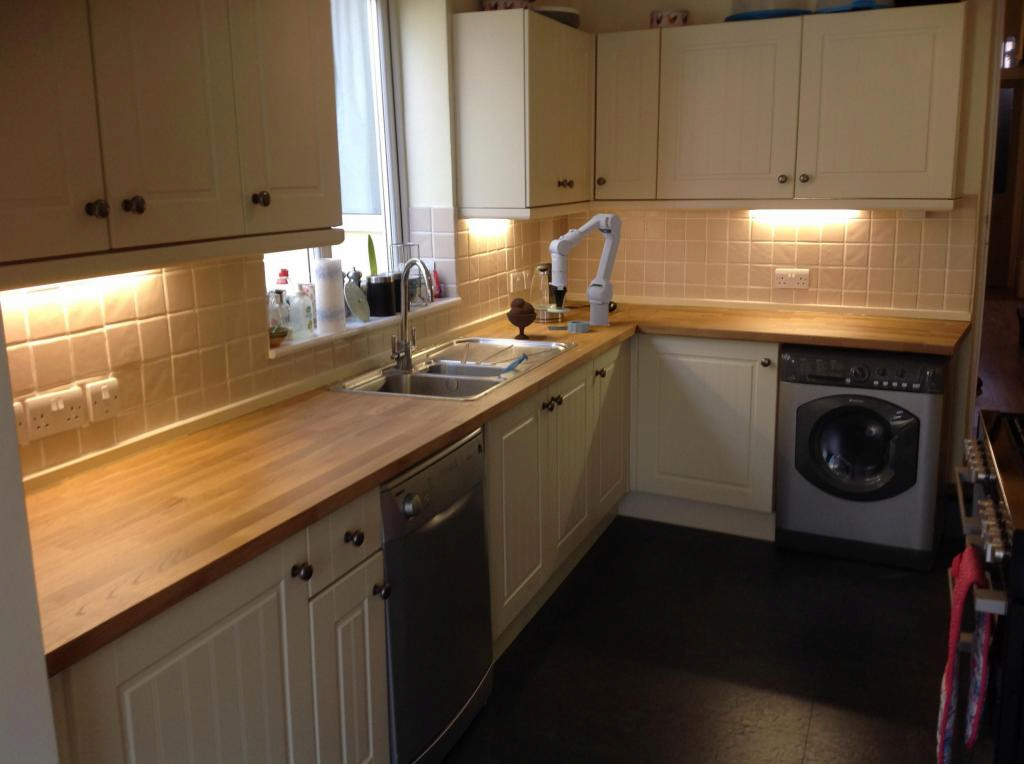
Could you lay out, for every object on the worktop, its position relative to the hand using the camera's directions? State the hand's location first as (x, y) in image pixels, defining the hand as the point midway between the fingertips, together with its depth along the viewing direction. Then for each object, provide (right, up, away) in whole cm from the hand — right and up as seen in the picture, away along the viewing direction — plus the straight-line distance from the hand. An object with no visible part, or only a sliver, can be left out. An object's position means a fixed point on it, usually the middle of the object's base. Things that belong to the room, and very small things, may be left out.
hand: (559, 306), depth 373 cm
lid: (0, -2, 0) cm, 2 cm away
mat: (-1, -9, +3) cm, 9 cm away
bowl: (+7, -10, -5) cm, 13 cm away
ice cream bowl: (-15, -13, -17) cm, 26 cm away
